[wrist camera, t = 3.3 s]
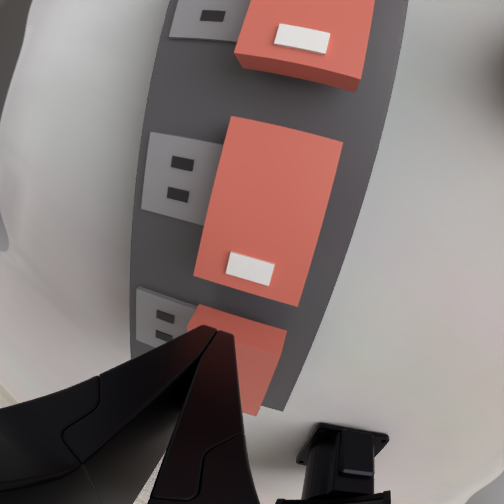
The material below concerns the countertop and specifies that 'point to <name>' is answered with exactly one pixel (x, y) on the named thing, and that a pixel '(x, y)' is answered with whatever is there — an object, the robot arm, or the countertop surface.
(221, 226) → the plate
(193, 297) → the power strip
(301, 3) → the rocker
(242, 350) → the red rectangular block
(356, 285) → the countertop surface
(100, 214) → the countertop surface
